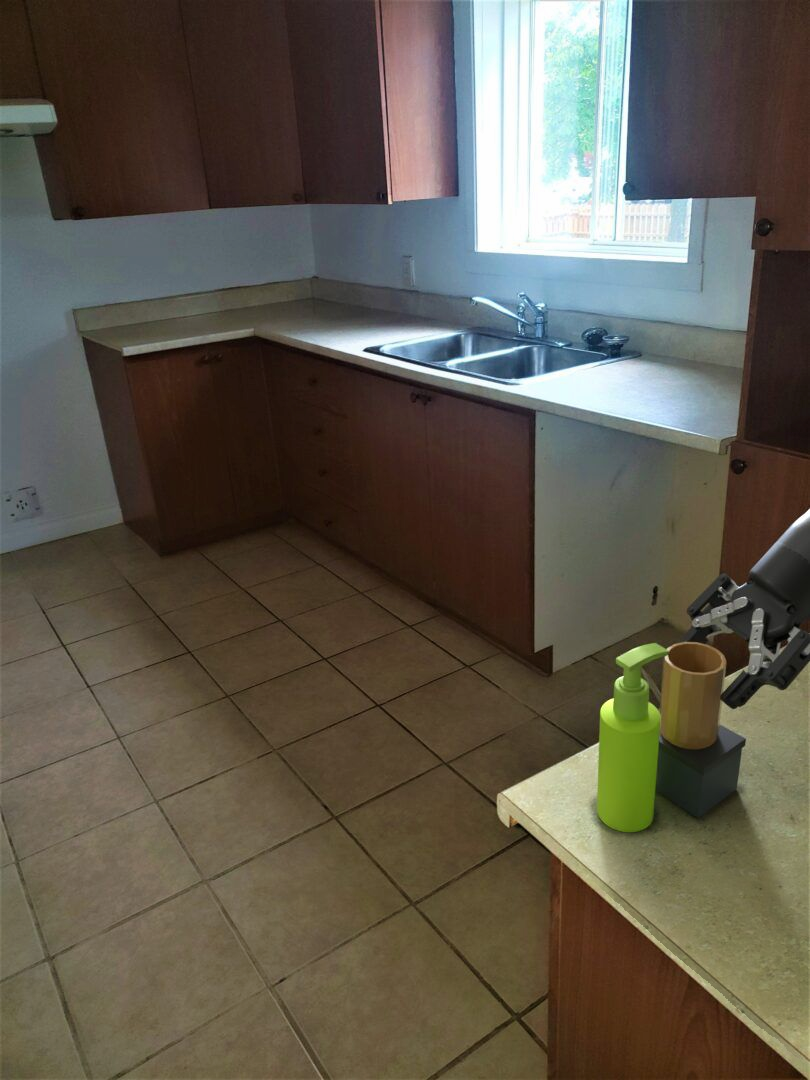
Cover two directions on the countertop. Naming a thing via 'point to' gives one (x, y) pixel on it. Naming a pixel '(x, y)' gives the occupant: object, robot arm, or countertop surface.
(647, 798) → the soap dispenser
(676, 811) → the countertop surface
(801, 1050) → the countertop surface
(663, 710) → the cup
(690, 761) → the dark grey box
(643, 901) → the countertop surface
